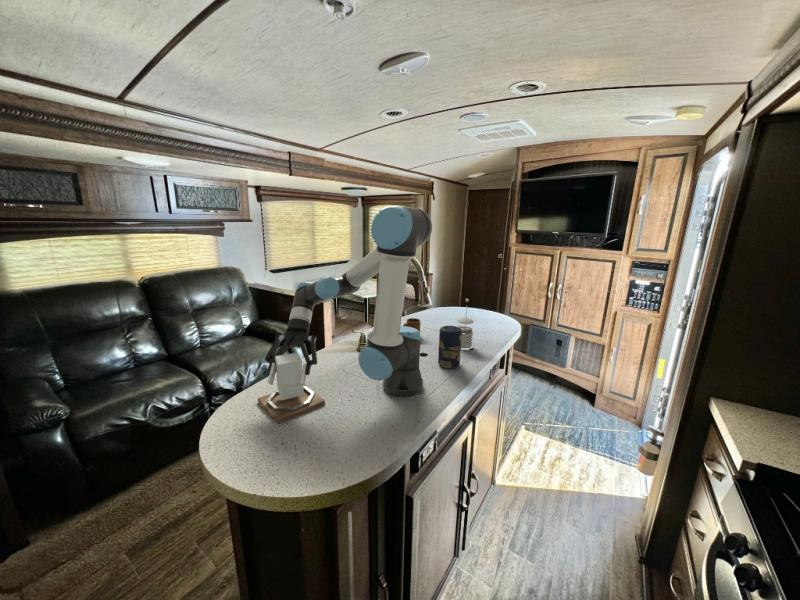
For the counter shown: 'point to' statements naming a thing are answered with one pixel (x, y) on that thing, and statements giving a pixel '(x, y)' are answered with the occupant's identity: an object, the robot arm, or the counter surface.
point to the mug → (413, 323)
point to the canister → (449, 346)
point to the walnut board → (290, 405)
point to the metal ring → (277, 408)
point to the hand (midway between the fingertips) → (286, 384)
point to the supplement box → (289, 375)
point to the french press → (466, 331)
